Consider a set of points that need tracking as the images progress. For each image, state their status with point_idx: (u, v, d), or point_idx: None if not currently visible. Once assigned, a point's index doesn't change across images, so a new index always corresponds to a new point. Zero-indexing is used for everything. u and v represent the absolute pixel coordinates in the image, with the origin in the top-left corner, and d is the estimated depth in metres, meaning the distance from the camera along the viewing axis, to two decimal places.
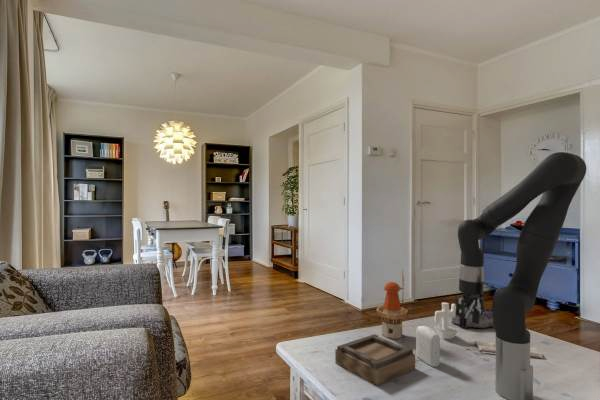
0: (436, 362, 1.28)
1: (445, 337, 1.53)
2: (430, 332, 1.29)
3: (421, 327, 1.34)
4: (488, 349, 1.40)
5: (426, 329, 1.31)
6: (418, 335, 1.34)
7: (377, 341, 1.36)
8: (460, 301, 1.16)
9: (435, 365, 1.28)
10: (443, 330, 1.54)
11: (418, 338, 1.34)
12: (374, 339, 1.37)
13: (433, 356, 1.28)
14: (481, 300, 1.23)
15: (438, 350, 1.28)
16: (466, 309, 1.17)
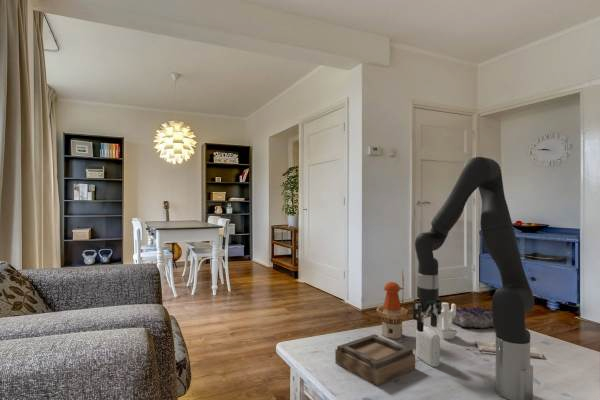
0: (436, 362, 1.28)
1: (445, 337, 1.53)
2: (430, 332, 1.29)
3: None
4: (488, 349, 1.40)
5: (426, 329, 1.31)
6: (418, 335, 1.34)
7: (377, 341, 1.36)
8: (416, 306, 1.28)
9: (435, 365, 1.28)
10: (443, 330, 1.54)
11: (418, 338, 1.34)
12: (374, 339, 1.37)
13: (433, 356, 1.28)
14: (438, 305, 1.35)
15: (438, 350, 1.28)
16: (423, 314, 1.30)
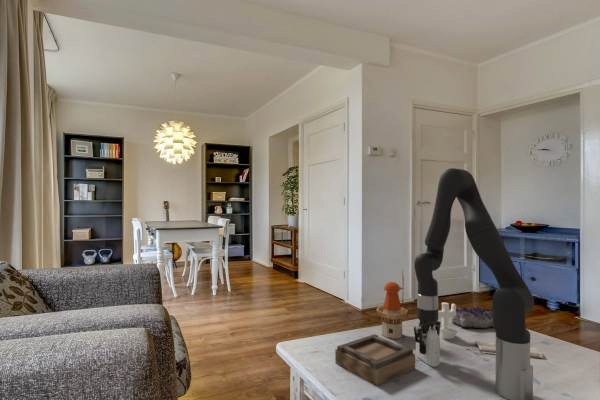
0: (436, 362, 1.28)
1: (445, 337, 1.53)
2: (430, 332, 1.29)
3: None
4: (488, 349, 1.40)
5: None
6: None
7: (377, 341, 1.36)
8: (417, 330, 1.28)
9: (435, 365, 1.28)
10: (443, 330, 1.54)
11: (418, 338, 1.34)
12: (374, 339, 1.37)
13: (433, 356, 1.28)
14: (437, 328, 1.35)
15: (438, 350, 1.28)
16: (424, 336, 1.30)
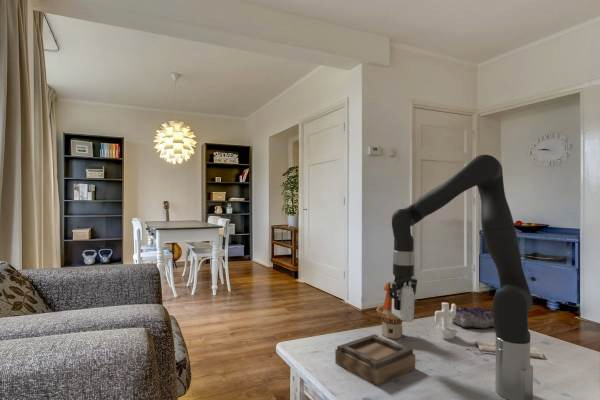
0: (410, 317, 1.26)
1: (445, 337, 1.53)
2: (405, 288, 1.28)
3: None
4: (488, 349, 1.40)
5: None
6: None
7: (377, 341, 1.36)
8: (391, 286, 1.27)
9: (409, 320, 1.26)
10: (443, 330, 1.54)
11: None
12: (374, 339, 1.37)
13: (407, 311, 1.26)
14: (414, 285, 1.33)
15: (413, 306, 1.27)
16: (399, 292, 1.29)
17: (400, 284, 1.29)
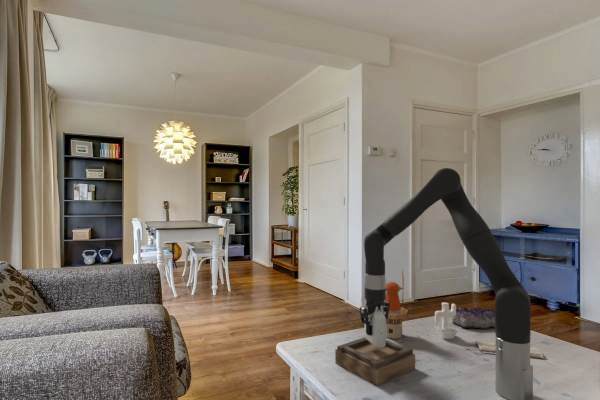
0: (382, 343, 1.23)
1: (445, 337, 1.53)
2: (376, 312, 1.25)
3: None
4: (488, 349, 1.40)
5: None
6: None
7: None
8: (362, 311, 1.24)
9: (381, 346, 1.23)
10: (443, 330, 1.54)
11: None
12: None
13: (378, 336, 1.23)
14: (386, 309, 1.31)
15: (384, 331, 1.24)
16: (370, 317, 1.26)
17: (372, 309, 1.26)
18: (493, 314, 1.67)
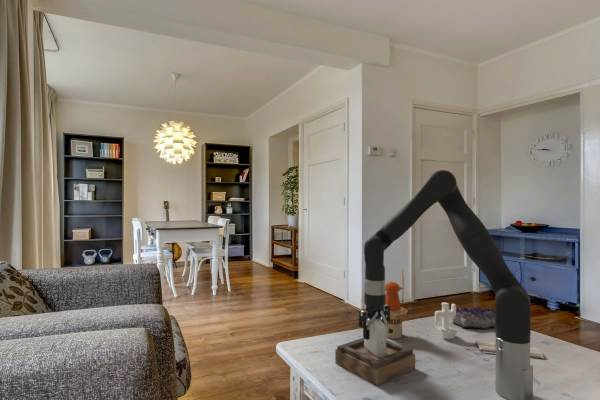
0: (382, 353, 1.24)
1: (445, 337, 1.53)
2: (377, 322, 1.25)
3: None
4: (489, 349, 1.41)
5: None
6: None
7: None
8: (362, 313, 1.24)
9: (381, 356, 1.23)
10: (443, 330, 1.54)
11: None
12: None
13: (379, 346, 1.23)
14: (387, 312, 1.31)
15: (385, 340, 1.24)
16: (369, 321, 1.25)
17: (371, 313, 1.26)
18: (493, 314, 1.67)
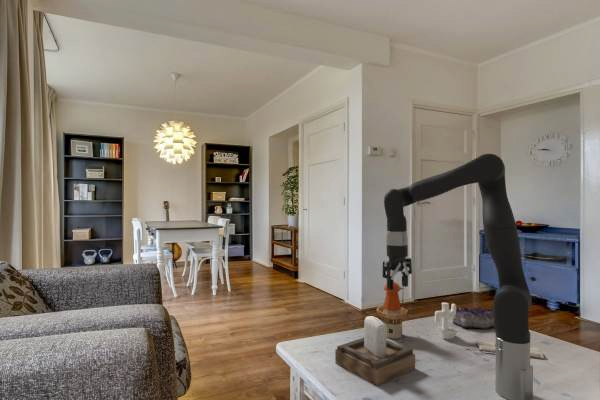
0: (382, 353, 1.23)
1: (445, 337, 1.53)
2: (377, 322, 1.25)
3: (369, 317, 1.30)
4: (489, 349, 1.41)
5: (373, 319, 1.27)
6: (366, 326, 1.30)
7: None
8: (385, 264, 1.25)
9: (381, 356, 1.23)
10: (443, 330, 1.54)
11: (366, 329, 1.30)
12: None
13: (379, 346, 1.23)
14: (409, 264, 1.33)
15: (385, 340, 1.24)
16: (392, 271, 1.27)
17: (395, 264, 1.27)
18: (493, 314, 1.67)
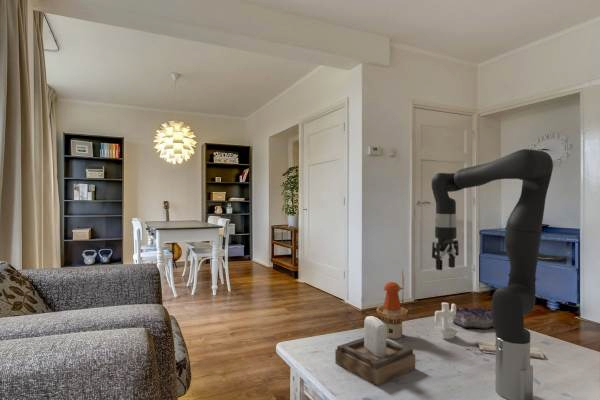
0: (382, 353, 1.23)
1: (445, 337, 1.53)
2: (377, 322, 1.25)
3: (369, 317, 1.30)
4: (489, 349, 1.41)
5: (373, 319, 1.27)
6: (366, 326, 1.30)
7: None
8: (435, 244, 1.30)
9: (381, 356, 1.23)
10: (443, 330, 1.54)
11: (366, 329, 1.30)
12: None
13: (379, 346, 1.23)
14: (456, 246, 1.37)
15: (385, 340, 1.24)
16: (441, 252, 1.31)
17: (444, 245, 1.32)
18: None
